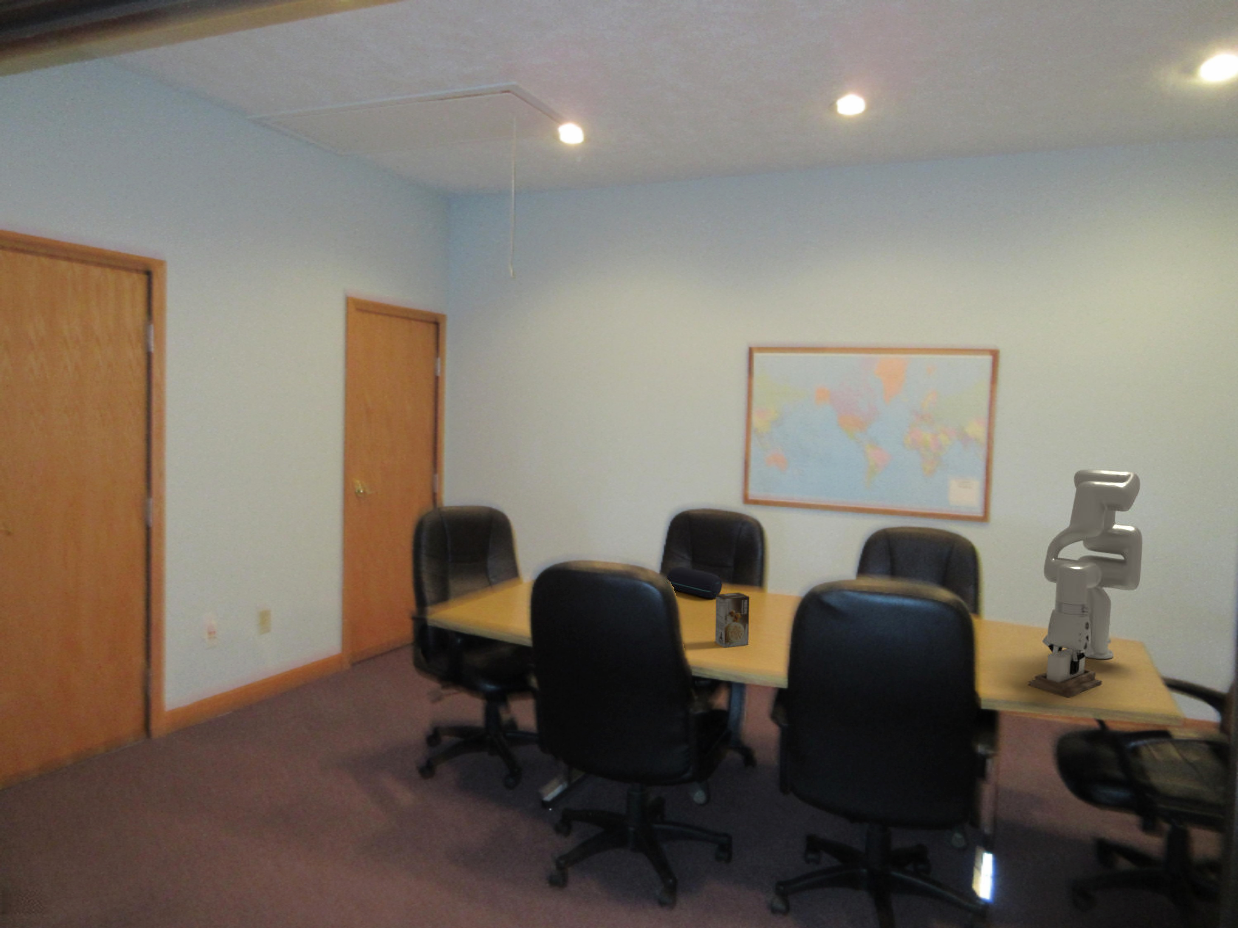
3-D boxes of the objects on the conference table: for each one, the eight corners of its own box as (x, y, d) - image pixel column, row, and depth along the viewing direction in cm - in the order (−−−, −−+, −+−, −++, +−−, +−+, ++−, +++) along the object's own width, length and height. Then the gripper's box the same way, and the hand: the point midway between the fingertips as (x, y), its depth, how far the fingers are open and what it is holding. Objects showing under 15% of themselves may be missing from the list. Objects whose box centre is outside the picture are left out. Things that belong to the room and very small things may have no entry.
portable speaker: (726, 598, 313) (726, 573, 313) (709, 602, 307) (710, 577, 306) (680, 586, 332) (680, 563, 331) (663, 590, 325) (664, 566, 324)
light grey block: (1071, 669, 227) (1072, 646, 227) (1083, 673, 224) (1085, 649, 224) (1046, 678, 219) (1048, 654, 219) (1059, 682, 216) (1061, 658, 216)
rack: (1061, 672, 232) (1062, 662, 232) (1101, 684, 223) (1102, 673, 223) (1028, 684, 221) (1028, 674, 221) (1068, 697, 212) (1069, 686, 212)
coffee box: (738, 639, 259) (740, 591, 257) (748, 645, 253) (750, 596, 252) (714, 642, 255) (715, 593, 254) (724, 647, 249) (725, 598, 248)
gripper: (1108, 613, 216) (1103, 677, 217) (1047, 599, 229) (1043, 660, 231) (1095, 616, 211) (1090, 682, 213) (1033, 603, 225) (1029, 665, 226)
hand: (1065, 670), depth 222 cm, fingers closed on light grey block, 3 cm apart
